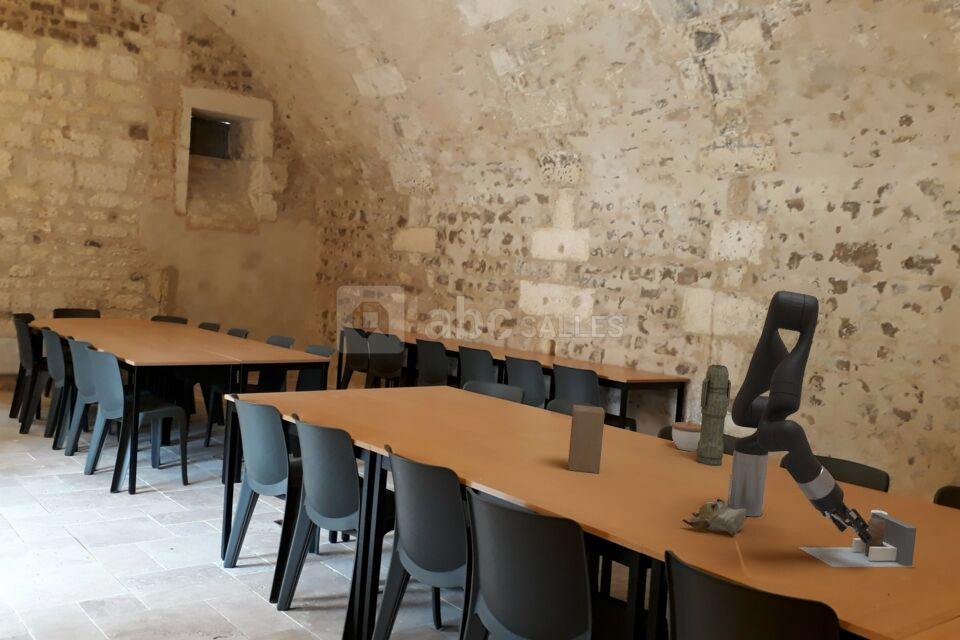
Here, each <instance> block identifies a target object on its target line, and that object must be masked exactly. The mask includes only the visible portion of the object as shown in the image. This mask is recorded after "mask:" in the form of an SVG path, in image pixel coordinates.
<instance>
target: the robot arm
mask: <svg viewBox="0 0 960 640" xmlns="http://www.w3.org/2000/svg"><path fill="white" fill-rule="evenodd" d="M768 305H769V306H768V309H767V313H766V316H765V320H764V324H763V328H762V331H761V334H760V337H759V339H758V342H757V344H756V347H755V349H754V351H753V354H752V356H751V359H750V362H749V364H748V365H749V366H748V369H747V371H746V374H745V377H744V380H743V383H742V384H741V386H740V388H739V389H738V392H737V394H736V396H735V398H734V400H733V403H732V408H731V411H730V412H731V413H730V415H731V420H732V422H733V424H734V425H735V426H737V427H741V428H748V429H749V428H750V429H756V430H755V432H753V433H752V434H750V435H747V436H744V437H740V438H736V440H735V441H734V444H733V445H734V446H733V456H732V466H731V474H730V476H729V484H728V485H729V486H728V496H727V504H728V506H729V508H731V509H734V510H737V509H746V516H745V517H761V516H762V515H763V509H764V499H765V498H764V497H765V490H766V489H765V488H766V479H767V468H768V458H769V453H777V452H788V453H787V454H785V456H784V458H783V465H784V468H785V469H786V471H787V472H788V474H789V475H790V476H791V477H792V478H793V480H794V482H796V484H797V486H798V488H799V489H800V491H801V492H802V494H803V495H804V496H805V497H806V498H807V500H808V501H809V502H810V503H811V505H812V506H813V507H814V508H815V510H817V511H819V512H820V514H821V515H822V516H823V517H824V518H827V519H828V520H829V521H831V522H832V523H833V525H834V526H835V527H836V528H837V530H838V531H839V532H841V533H843V532H845V531H846V530H847V528H850V529H851V530H852V531H854V533H855V534H856V535H857V536H858V538H860V539H861V540H862V541H863V542H864V543H866V544H867V543H868V542H869V541H870V540H871V539H872V537H871V535H870V534H869V533H868V531H867V529H868V528H869V526H868V522H866V520H865V519H864V518H863V517H862V515H860V513H859V512H858V511H857V509H856V508H854V507H852V508H850V507H849V505H848V504H846V503H845V502H844V497H845V493H844V490H843V489H842V488H841V486H840V485H839V484H838V483H837V481H836V480H835V478H834V477H833V476H832V475H831V473H830V472H829V471H828V469H826V467H824V466H823V465H822V463H821V462H820V461H819V460H818V458H817V457H816V455H815V454H814V453H813V451H812V448H811V445H810V443H809V440H808V437H807V434H806V432H805V429H804V428H803V426H801V424H799V423H798V422H797V421H796V420H791V419H787V418H788V417H790V416H791V415H793V414H795V413H798V412H799V410H800V406H801V399H802V391H803V385H804V377H805V373H806V372H805V371H806V367H807V363H808V361H809V357H810V353H811V349H812V345H813V340H814V337H815V332H816V328H817V323H818V318H819V312H820V307H819V306H820V304H819V299H818V298H817V297H816V296H813V295H810V294H805V293H801V292H795V291H794V292H793V291H789V290H788V291H787V290H778V291H776V292H775V293H774V294H773V296H772V297H771V300H770V302H769V304H768ZM779 329H781V330H786V331H791V332H796V333H797V332H798V333H799V336H798V339H797V342H796V344H795V346H794V347H793V348H792V349H791V350H790V352H789V350H788V348H787V346H786V344H785V342H784V340H783V339H782V337H781V336H780V335H781V334H780V332H779ZM767 392H769V393H768V396H767V395H765V396H764V395H763V394H765V393H767Z"/></svg>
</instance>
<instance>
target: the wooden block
mask: <svg viewBox="0 0 960 640" xmlns="http://www.w3.org/2000/svg"><path fill="white" fill-rule="evenodd" d="M605 414H606V413H605V410H604V407H601V406H591V405H590V406H589V405H579V404H573V406H572V415H571V425H570V426H571V427H570V438H569V449H568V461H567V465H568V466H567V467H568V468H567V469H568V471H570V472H571V471H572V472H581V473H589V474H599V473H600V472H601V459H602V458H601V457H602V450H603V449H602V447H603V437H604V425H605Z"/></svg>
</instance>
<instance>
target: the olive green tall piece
mask: <svg viewBox="0 0 960 640" xmlns="http://www.w3.org/2000/svg"><path fill="white" fill-rule="evenodd" d="M729 374H730V373H729V370H728V367H727V366H725V365H722V364H711V365H709V366H708V368H707V371H706V375H705V377H704V379H703V380H702V384H701V392H700V407H701V409H700V413H701V421H700V422H701V423H700V425H701V432H700V440H699V442H698V447H697V450H696V455H697V457H696V462H697V463H698V464H701V465H706V466H713V467H714V466H721V465H722V460H723V457H724V448H725V445H724V441H723V440H724V431H725V419H726V417H727V414H728V407H729V406H730V399H731V397H730V396H731V389H732V388H731V386H732V382H731V380H730V379H729V377H730V375H729Z"/></svg>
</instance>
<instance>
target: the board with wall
mask: <svg viewBox="0 0 960 640" xmlns="http://www.w3.org/2000/svg"><path fill="white" fill-rule="evenodd" d="M872 518H878V519H882V520H884V521H885V529H884V538H883V542H885V543H887V544H889V545H891V546H894V547H896V548H897V553H896V561H871V560H869V559H868V557H866V556H865V552H853V551H852V546H851V547H848V546H847V547H839V546H838V547H828V546H826V547H822V546H821V547H817V546H816V547H815V546H814V547H806V546H805V547H798V549H800V550H802V551H804V552H805V553H807V554H809V555H811V556H812V557H813V558H816V559H817V560H820V561H821V562H822V563H825V564H826V565H828V566H830V567H831V568H869V567H870V568H879V567H881V568H882V567H883V568H893V567H895V568H897V567H903V568H904V567H905V568H908V567H909V568H911V567H915V565H913V560H914V553H915V543H916V534H917V527H916V526H913V525H910V524H908V523H906V522H903V521H902V520H899V519H897V518H894V517H892V516H890V515H889V514H888V515H885V514H883V513H874V512H872Z"/></svg>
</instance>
